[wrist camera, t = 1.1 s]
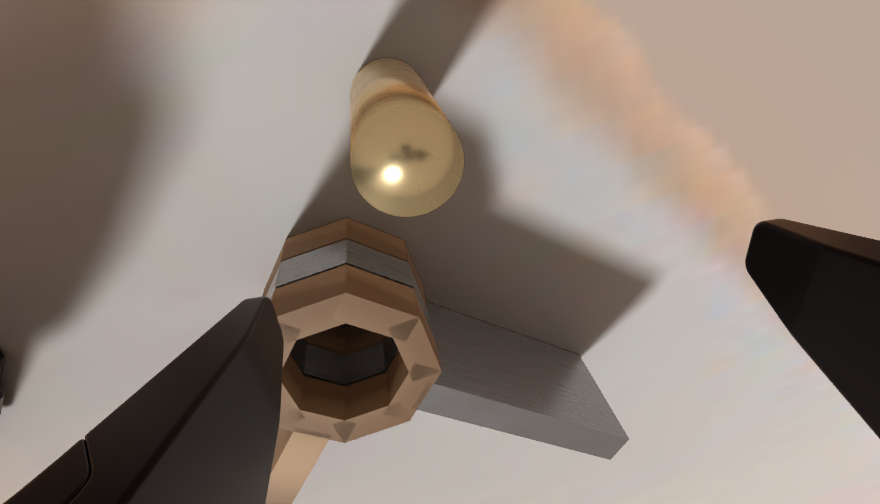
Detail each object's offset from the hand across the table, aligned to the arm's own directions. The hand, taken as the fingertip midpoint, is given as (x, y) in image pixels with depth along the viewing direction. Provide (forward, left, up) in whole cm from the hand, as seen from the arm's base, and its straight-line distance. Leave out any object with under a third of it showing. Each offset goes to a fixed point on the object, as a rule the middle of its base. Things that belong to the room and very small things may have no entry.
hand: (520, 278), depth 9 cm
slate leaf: (+6, -9, -13) cm, 17 cm away
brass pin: (-2, 0, -13) cm, 13 cm away
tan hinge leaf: (0, -15, -13) cm, 20 cm away
